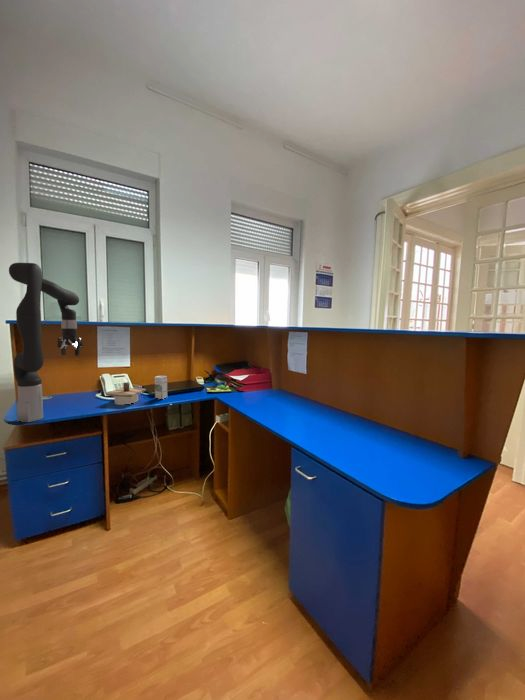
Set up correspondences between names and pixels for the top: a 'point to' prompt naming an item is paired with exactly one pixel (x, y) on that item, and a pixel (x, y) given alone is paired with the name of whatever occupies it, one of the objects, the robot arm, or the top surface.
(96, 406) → the top surface
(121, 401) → the cream bowl
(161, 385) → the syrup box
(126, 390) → the oak lid
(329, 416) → the top surface
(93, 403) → the top surface
